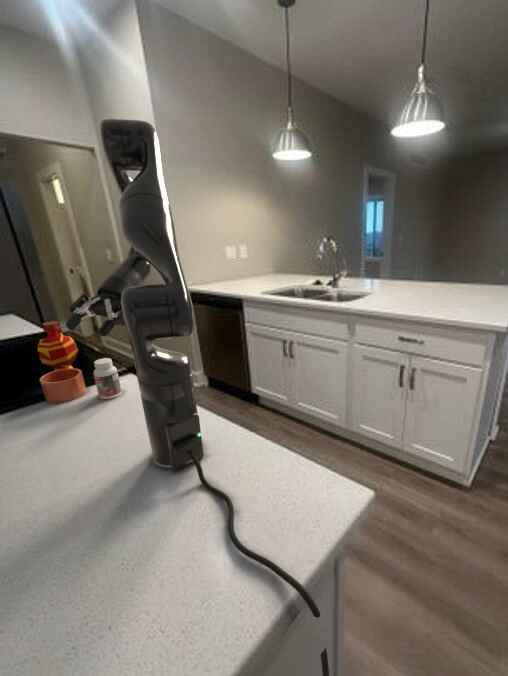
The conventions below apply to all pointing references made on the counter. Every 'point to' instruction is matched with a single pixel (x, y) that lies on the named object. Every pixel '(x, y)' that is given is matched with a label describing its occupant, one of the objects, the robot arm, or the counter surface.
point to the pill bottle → (106, 379)
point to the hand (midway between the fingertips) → (84, 331)
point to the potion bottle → (56, 348)
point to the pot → (63, 385)
